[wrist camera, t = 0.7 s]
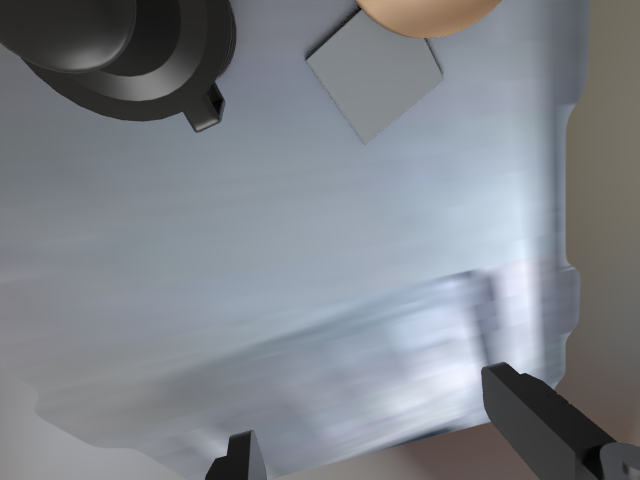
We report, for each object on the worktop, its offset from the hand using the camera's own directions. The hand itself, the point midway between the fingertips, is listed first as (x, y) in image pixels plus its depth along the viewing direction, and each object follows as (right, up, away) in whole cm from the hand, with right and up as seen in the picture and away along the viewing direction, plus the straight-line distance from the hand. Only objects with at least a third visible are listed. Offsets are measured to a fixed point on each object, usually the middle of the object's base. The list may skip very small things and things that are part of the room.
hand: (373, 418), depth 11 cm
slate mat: (+4, +23, +21) cm, 31 cm away
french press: (-13, +23, +17) cm, 32 cm away
